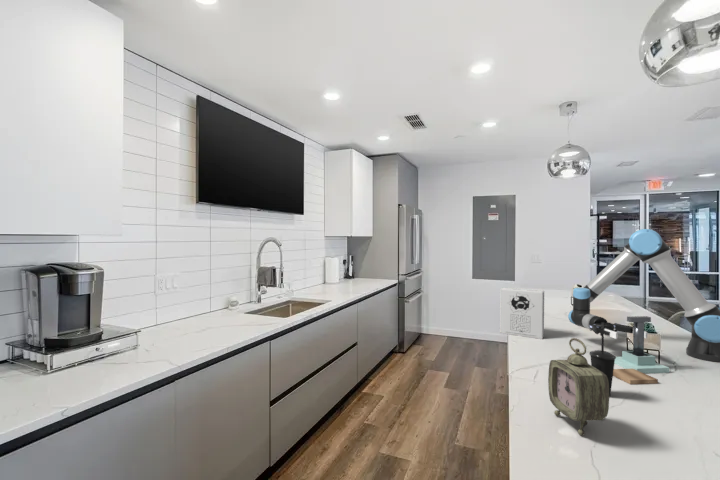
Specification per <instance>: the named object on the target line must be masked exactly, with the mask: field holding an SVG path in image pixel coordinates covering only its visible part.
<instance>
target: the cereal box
mask: <svg viewBox="0 0 720 480" xmlns="http://www.w3.org/2000/svg"><path fill="white" fill-rule="evenodd" d="M499 302H500V303H499V334H503V335H509V336H510V335H511V336H519V337H524V338H533V339H538V340H543V339H544V336H545V290H543V289H542V290H541V289H528V288H514V287H502V288H500V289H499Z"/></svg>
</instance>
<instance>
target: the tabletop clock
mask: <svg viewBox="0 0 720 480" xmlns="http://www.w3.org/2000/svg"><path fill="white" fill-rule="evenodd" d="M573 341H575V342H578V343H579V344H581V345H582V347H583V349H584V351H583V352H581V351H580V348H577V347H576V348H574V347H573V346H572V342H573ZM568 344H569V348H570V349H571V351H572V352H573V354H570V355H569V356H568V357H567V358H566V359H551V360H550V361H549V365H548V366H549V367H548V377H547V378H548V381H547V382H548V397H549V400H550V402H551V404H552V405H553V406H554V408H556V410H554V411H553V413H554V415H555V417H560V416H561V414H562V415H564V416H566V417H567V418H568V419H570V420H571V421H574V422H580V428H579V429H578V430H577V433H578V435H579V436H582V437H583V436H585V434H586V433H585V430H584V426H587V425H588V422H589V421H603V420H605V419H606V417H607V416H608V414H609V408H610V407H609V406H610V396H609V382H608V378H607V376H606V375H605V374H604V373H603V372H601V371H600V370H598V369H596V368H595V367H593V366H591V364H589V363H588V360H587V358H586V357H585V356H584V355H585V354H587V353H586V352H587V346H586V345H585V343H584V342H583V341H582V340H581V339H579V338H575V337H573V338H570V339H569V342H568Z"/></svg>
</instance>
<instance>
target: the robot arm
mask: <svg viewBox="0 0 720 480" xmlns="http://www.w3.org/2000/svg"><path fill="white" fill-rule="evenodd" d="M671 251H672V250H671V248H670V246H669V245H668V244H667V243H666V242H665V241H664V239H663V238H662V236H661V235H660V234H659V233H658V232H657V231H655V230H653V229H649V228H643V229H642V228H641V229H639V230H636V231H635V232H633V233H631V236H630V237H629V239H628V243H627V244H626V245H625V246H624V247H623V251H621V252H620V253H619V254H618V255H617V256H616V257H615V258H614V259H613V260H612V261H611V262H610V263H608V264H607V265H606V266H605V267H604V268H603V269H602V270H601V271H600V272H599V273H598V274H597V275H595V276H594V277H593V278H592V279H591V280H590V281H589V282H588V283H587V284H586V285H584V287H575V288H573V290H572V292H573V293H572V309H571V310H570V311H569V313H568V315H567V316H568V321H569V322H570V323H571V324H573V325H575V326H578V327H581V328H585V329H587V330H589V331H591V332H594V333H595V334H596V335H599V334H600V337H602V336H607V337H609V338H613V339H615V340H618V339H619V338H618V337H619V336H618V335H619V334H618V332H621V333H628V334H633V325H632V326H630V325H625V324H620V323H617V322H615V323H612V322H608V320H607V319H605V318H604V317H601V316H598V315H596V314H591V303H592V302H593V301H594V300H595V299H596V298H598V296H600V295H601V294H602V293H603V292H604V291H606V289H608V288H609V287H610V286H611V285H612V284H613V283H614V282H616V281H617V280H618V279H619V278H620V277H621V276H622V275H624V274H625V273H626V272H627V271H628V270H629V269H631V267H632V266H634V265H635V264H636V263H637V262H639V261H641V262H642V263H644V264H648V265H649V266H650V268H652V270H653V271H654V272H655V274H656V275H657V277H658V278H659V279H660V280H661V282H662V283H663V284H664V286H665V287H666V288H667V289H668V291H670V293H671V295H672V296H673V297H674V298H675V300H676V301H677V302H678V304H679V305H680V306H681V307H682V309H683V310H684V318H685V319H686V321H687V322H688V323H689V325H690V326H691V335H690V336H691V337H690V340H689V342H688V344H687V347H686V348H685V350H686V351H685V353H686V355H687V356H689V357H692V358H696V359H699V360H703V361H709V362H714V363H715V362H717V363H720V307H718V306H717V305H716V304H715V303H710V302H708V300H707V299H706V298H705V297H704V296H703V294H702V293H701V292H700V290H698V288H697V287H696V285H695V284H694V283H693V282H692V280H691V279H690V278H689V277H688V275H687V274H686V273H685V272H684V270H682V268H681V267H680V266H679V264H678V263H677V262H676V261H675V259H674V258H673V257H672V256H671V254H670V253H671ZM595 334H594V335H595ZM644 339H648V331H646V330H644Z"/></svg>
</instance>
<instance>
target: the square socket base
mask: <svg viewBox="0 0 720 480" xmlns="http://www.w3.org/2000/svg"><path fill="white" fill-rule="evenodd" d="M630 353H633V350H622V352H621V356H616V359H615V362H614V365H617V366H619V367H621V368H622V369H635V370H637V371H640V372H642V373H644V374H663V373H664V374H665V373H666V374H667V373H668V374H669V373H670V367H669V366H666V365H664V364H661V363H658V362H656V356H655V355H652V354H650V353H646V352H644V355H646V356H636V355H633V354H630Z"/></svg>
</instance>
